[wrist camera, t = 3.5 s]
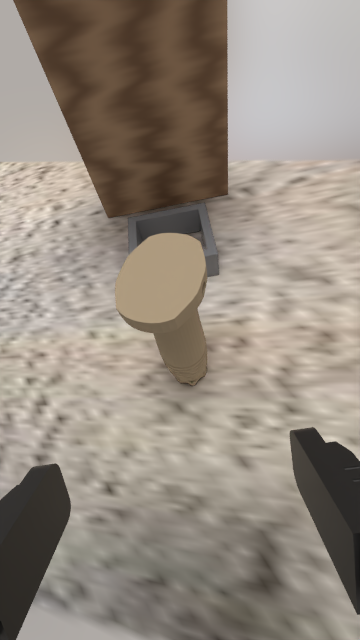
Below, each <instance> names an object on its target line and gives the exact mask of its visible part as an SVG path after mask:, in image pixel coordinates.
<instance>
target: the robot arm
mask: <svg viewBox="0 0 360 640" xmlns="http://www.w3.org/2000/svg"><path fill="white" fill-rule="evenodd" d="M290 443H291V452H292V461H293V470H294V475H295V479H296V483H297V486H298V489H299V491H300V493H301V495H302V498H303V500H304V502H305V504H306V506H307V508H308V510H309V513H310V515H311V517H312V519H313V521H314V523H315V525H316V527H317V530H318V532H319V534H320V536H321V538H322V540H323V542H324V545H325V547H326V549H327V551H328V553H329V555H330V557H331V559H332V562H333V564H334V566H335V568H336V570H337V572H338V574H339V577H340V579H341V581H342V583H343V585H344V587H345V589H346V591H347V594H348V596H349V598H350V600H351V602H352V604H353V606H354V609H355V611H356V613H357V615H358V614H360V461H359V460H358V459H357V458H356V456H355V455H354V454H353V453H352V452H351V451H350V450H348V449H347V448H345V447H344V446H342V445H340V444H339V443H337V442H329V443H325V441H324V440H323V438H322V437H321V436H320V434H319V433H318V432H317V430H316V429H315V428H314V427H312V428H305V429H298V430H291V431H290ZM70 510H71V503H70V498H69V495H68V492H67V488H66V485H65V482H64V479H63V476H62V473H61V470H60V467H59V466H58V465H57V464H49V465H42V466H35V467H33V468H31V469H30V471H29V472H28V473H27V475H26V476H25V478H24V479H23V480H22V482H21V483H20V485H17V486H16V487H14V488H13V489H12V490H11V491H10V492H9V493H8V494H7V495H5V496H4V497H3V498H2V499H1V500H0V640H16V638H17V636H18V634H19V631H20V629H21V627H22V624H23V622H24V620H25V618H26V615H27V613H28V611H29V609H30V606H31V604H32V602H33V599H34V597H35V595H36V593H37V590H38V588H39V586H40V584H41V581H42V579H43V577H44V575H45V572H46V570H47V568H48V565H49V563H50V561H51V559H52V556H53V554H54V552H55V550H56V547H57V545H58V543H59V540H60V538H61V536H62V534H63V531H64V529H65V527H66V525H67V522H68V520H69V516H70Z"/></svg>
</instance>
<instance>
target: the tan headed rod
mask: <svg viewBox="0 0 360 640" xmlns="http://www.w3.org/2000/svg"><path fill="white" fill-rule="evenodd" d="M206 282H207V269H206V262H205V256H204V252H203V249H202V246H201V243H200V241H198V240H197V239H195V238H193V237H191V236H189V235H185V234H179V233H161V234H157V235H153V236H150V237H148V238H147V239H146V240H145V241H144V242H142V243H141V244H140V245H139V246H138V247H137V248H136V249H134V250H133V251H132V252H131V254H130V255H129V256H128V257H127V259H126V261H125V262H124V264H123V266H122V268H121V270H120V273H119V275H118V277H117V280H116V285H115V297H116V309H117V310H118V312H119V314H120V315H121V317H122V318H123V319H124V320H125V321H126V322H127V323H128V324H129V325H130V326H131V327H133V328H135V329H138V330H140V331H144V332H149V333H154V336H155V339H156V342H157V345H158V348H159V351H160V354H161V356H162V359H163V360H164V363H165V364H166V366H167V367H168V369H169V370H170V372H171V373H172V374H173V375H174V376H175V378H176V379H177V380H178V381H179V382H180V383H188V384H190V385H196V383H197V381H198V380H199V379H200V378H201V377H204V376H205V374H206V371H207V366H206V364H207V347H206V340H205V336H204V332H203V329H202V325H201V322H200V318H199V314H198V311H197V308H198V306H199V305H200V303H201V302H202V299H203V297H204V293H205V288H206Z"/></svg>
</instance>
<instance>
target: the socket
mask: <svg viewBox="0 0 360 640" xmlns="http://www.w3.org/2000/svg"><path fill="white" fill-rule="evenodd" d="M198 231H201V235H202V239H203V244H204V248H205V250H203V252H204V256H205V262H206V269H207V277H208V276H214V275H219V265H218V252H217V248H216V244H215V240H214V236H213V232H212V228H211V224H210V220H209V217H208V213H207V209H206V205H205V203H200V204H195V205H190V206H185V207H180V208H175V209H170V210H165V211H160V212H155V213H150V214H145V215H140V216H135V217H130V218H128V240H129V255H130V254H131V252H132V251H133V250H134V249H136V248H137V247H138V246H139V245H140V244H141V243H142V242H144V241H145V240H146V239H147V238H148V237H150V236H153V235H157V234H161V233H179V234H187V233H193V232H198Z"/></svg>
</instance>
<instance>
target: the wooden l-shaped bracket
mask: <svg viewBox="0 0 360 640" xmlns="http://www.w3.org/2000/svg"><path fill="white" fill-rule="evenodd" d="M13 1H14V3H15V5H16V8H17V10H18V12H19V15H20V17H21V19H22V21H23V24H24V26H25V28H26V31H27V33H28V35H29V37H30V40H31V42H32V44H33V47H34V49H35V51H36V53H37V56H38V58H39V60H40V63H41V65H42V67H43V69H44V72H45V74H46V77H47V79H48V81H49V83H50V86H51V88H52V90H53V93H54V95H55V97H56V99H57V102H58V104H59V106H60V108H61V111H62V113H63V115H64V118H65V120H66V122H67V125H68V127H69V129H70V132H71V134H72V136H73V138H74V141H75V143H76V145H77V148H78V150H79V152H80V154H81V157H82V159H83V161H84V164H85V166H86V168H87V171H88V173H89V175H90V177H91V180H92V182H93V184H94V187H95V189H96V191H97V193H98V196H99V198H100V200H101V203H102V205H103V207H104V210H105V212H106V214H107V216H108V218H111V217H116V216H121V215H126V214H131V213H136V212H141V211H146V210H151V209H156V208H161V207H166V206H171V205H176V204H181V203H186V202H191V201H196V200H201V199H206V198H211V197H216V196H221V195H226V194H228V123H227V122H228V118H227V117H228V115H227V114H228V109H227V108H228V106H227V105H228V103H227V102H228V99H227V0H13Z"/></svg>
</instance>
